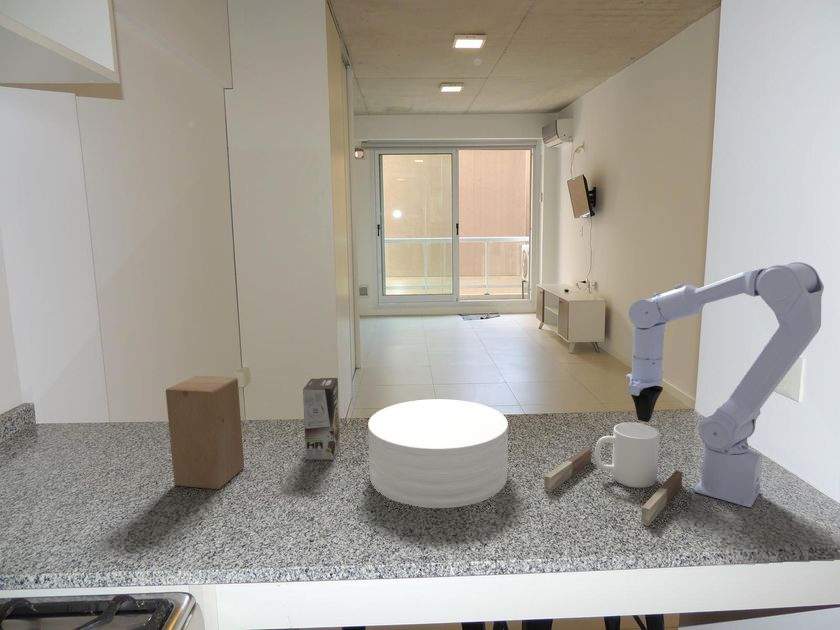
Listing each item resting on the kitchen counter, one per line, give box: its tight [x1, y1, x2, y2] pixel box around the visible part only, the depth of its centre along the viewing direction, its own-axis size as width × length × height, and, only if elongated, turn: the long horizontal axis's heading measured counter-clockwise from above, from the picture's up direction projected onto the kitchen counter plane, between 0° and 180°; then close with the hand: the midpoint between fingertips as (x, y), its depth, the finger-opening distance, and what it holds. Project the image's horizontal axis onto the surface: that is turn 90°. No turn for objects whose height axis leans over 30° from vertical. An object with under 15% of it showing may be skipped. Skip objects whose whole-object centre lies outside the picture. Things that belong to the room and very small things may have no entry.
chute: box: [543, 446, 684, 527], centre depth 105 cm, size 19×18×3 cm
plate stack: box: [367, 398, 509, 509], centre depth 113 cm, size 28×28×12 cm
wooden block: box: [165, 375, 245, 490], centre depth 112 cm, size 10×10×20 cm
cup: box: [594, 422, 660, 489], centre depth 109 cm, size 8×12×10 cm
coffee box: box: [302, 377, 341, 461], centre depth 124 cm, size 9×6×16 cm
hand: (644, 420), depth 115 cm, fingers closed
